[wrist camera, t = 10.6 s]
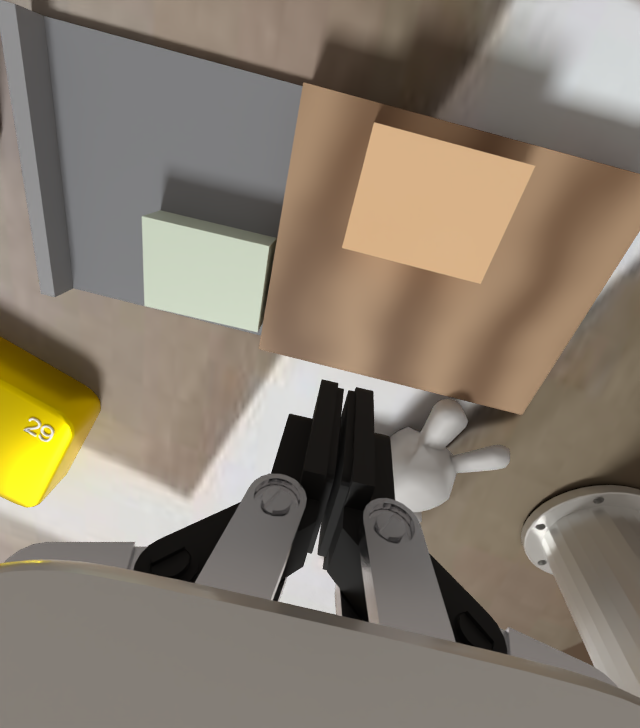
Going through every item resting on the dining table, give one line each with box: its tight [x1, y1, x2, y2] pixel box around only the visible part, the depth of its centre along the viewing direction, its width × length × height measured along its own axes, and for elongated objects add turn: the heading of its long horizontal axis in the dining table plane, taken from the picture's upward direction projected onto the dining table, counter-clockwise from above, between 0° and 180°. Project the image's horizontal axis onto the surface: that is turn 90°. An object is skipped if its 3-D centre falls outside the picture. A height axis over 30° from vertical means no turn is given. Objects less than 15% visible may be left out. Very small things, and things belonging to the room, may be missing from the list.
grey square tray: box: [0, 0, 303, 335], centre depth 24 cm, size 16×16×2 cm
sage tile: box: [142, 210, 277, 332], centre depth 26 cm, size 8×6×2 cm
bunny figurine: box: [390, 399, 510, 522], centre depth 32 cm, size 10×5×15 cm
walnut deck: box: [259, 82, 640, 415], centre depth 25 cm, size 20×16×2 cm
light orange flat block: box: [342, 122, 535, 284], centre depth 21 cm, size 8×6×2 cm
